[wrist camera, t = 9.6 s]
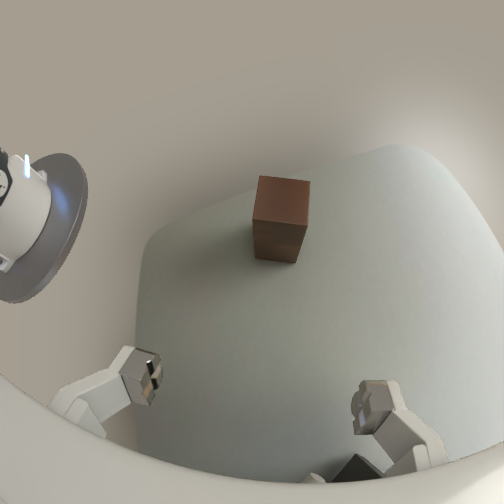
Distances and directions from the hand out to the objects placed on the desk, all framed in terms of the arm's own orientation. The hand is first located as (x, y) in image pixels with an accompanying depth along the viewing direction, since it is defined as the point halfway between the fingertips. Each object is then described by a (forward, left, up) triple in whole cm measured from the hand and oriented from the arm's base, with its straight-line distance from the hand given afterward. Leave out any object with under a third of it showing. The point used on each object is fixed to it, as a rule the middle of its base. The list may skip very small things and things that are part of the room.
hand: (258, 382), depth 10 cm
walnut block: (0, +12, -14) cm, 19 cm away
